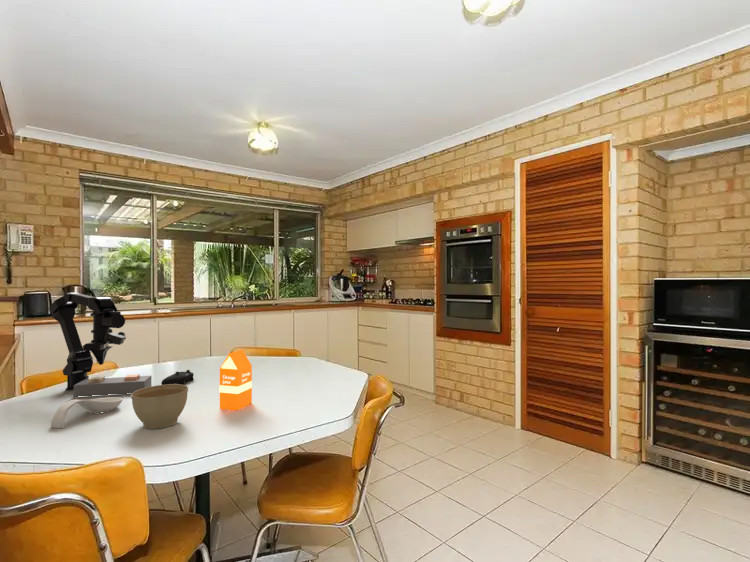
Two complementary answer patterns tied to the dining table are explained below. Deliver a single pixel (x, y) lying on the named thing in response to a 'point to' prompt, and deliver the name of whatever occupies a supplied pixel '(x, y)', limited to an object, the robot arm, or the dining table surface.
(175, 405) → the planter bowl
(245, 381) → the orange juice
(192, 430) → the dining table surface
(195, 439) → the dining table surface
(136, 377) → the terracotta key
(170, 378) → the gaming controller
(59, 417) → the spoon rest
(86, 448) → the dining table surface
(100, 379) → the ash key
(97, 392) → the key housing
